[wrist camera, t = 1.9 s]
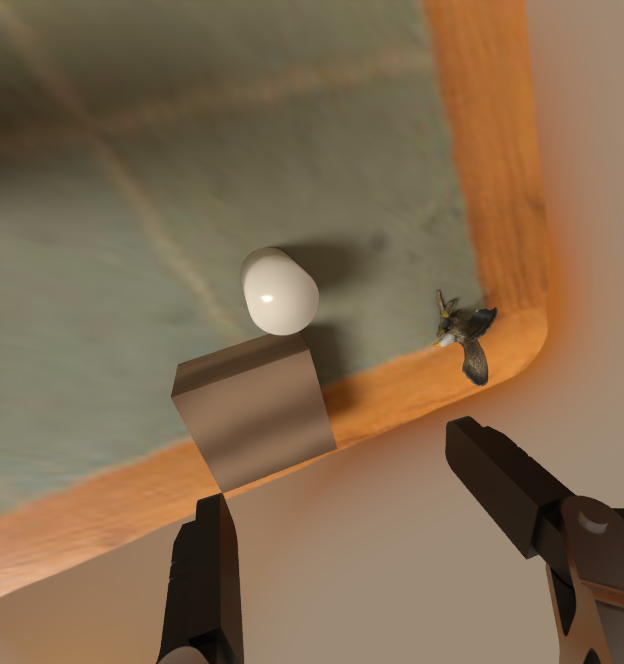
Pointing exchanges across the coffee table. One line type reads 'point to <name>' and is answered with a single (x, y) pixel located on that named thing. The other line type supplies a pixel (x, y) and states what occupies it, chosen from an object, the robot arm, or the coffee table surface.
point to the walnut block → (254, 408)
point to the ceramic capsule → (278, 292)
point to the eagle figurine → (466, 337)
